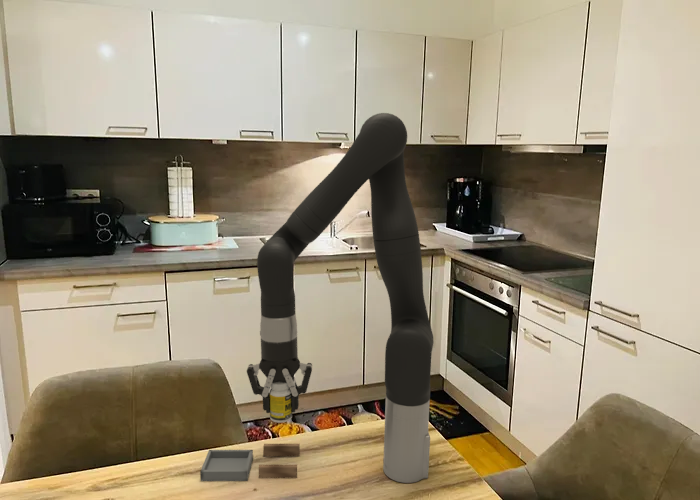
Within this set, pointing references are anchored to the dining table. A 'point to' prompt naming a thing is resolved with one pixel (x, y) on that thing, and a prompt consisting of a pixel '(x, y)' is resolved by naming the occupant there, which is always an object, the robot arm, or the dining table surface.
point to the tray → (227, 465)
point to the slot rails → (279, 470)
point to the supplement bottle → (280, 402)
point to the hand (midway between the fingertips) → (280, 410)
